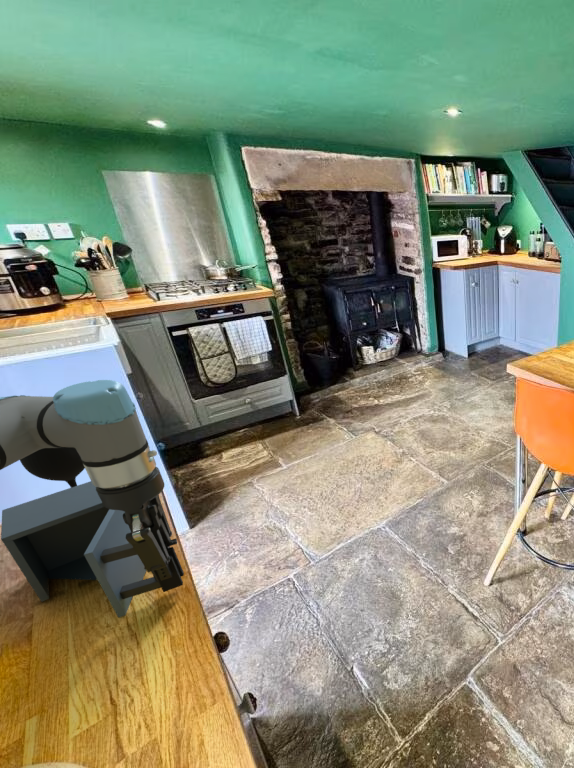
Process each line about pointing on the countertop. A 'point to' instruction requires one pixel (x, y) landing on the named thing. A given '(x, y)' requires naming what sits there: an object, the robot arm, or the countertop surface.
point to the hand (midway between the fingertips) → (173, 582)
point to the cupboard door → (118, 563)
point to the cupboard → (54, 535)
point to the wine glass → (55, 464)
